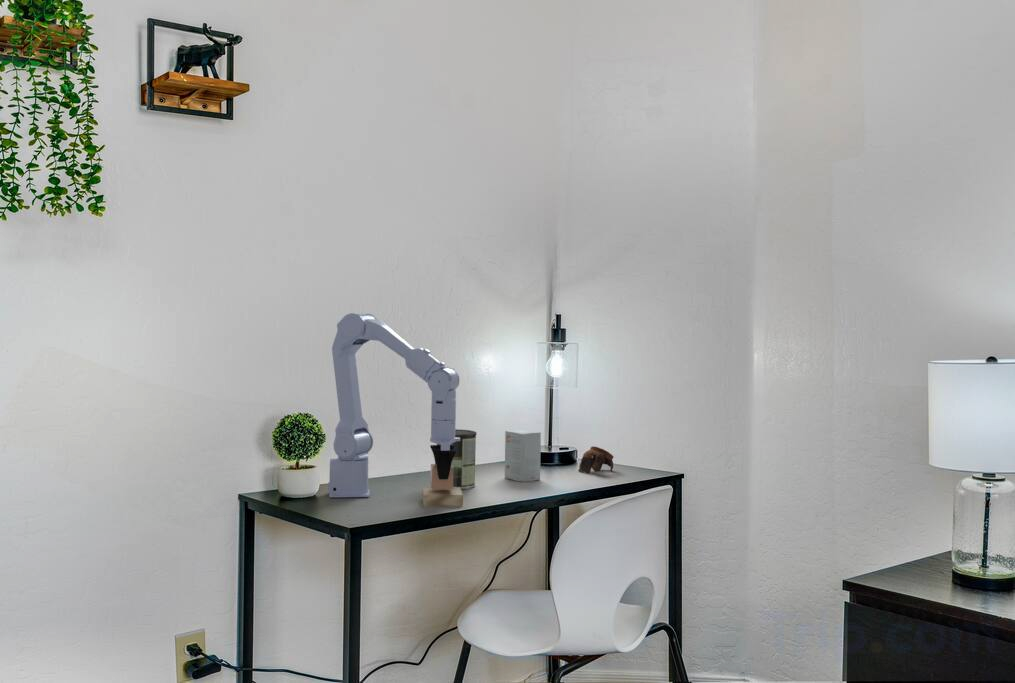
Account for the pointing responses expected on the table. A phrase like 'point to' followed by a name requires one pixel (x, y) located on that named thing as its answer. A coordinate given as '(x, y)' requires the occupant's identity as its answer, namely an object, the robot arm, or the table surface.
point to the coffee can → (464, 459)
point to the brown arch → (595, 460)
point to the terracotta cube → (440, 483)
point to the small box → (522, 455)
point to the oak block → (442, 497)
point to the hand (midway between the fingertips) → (442, 477)
